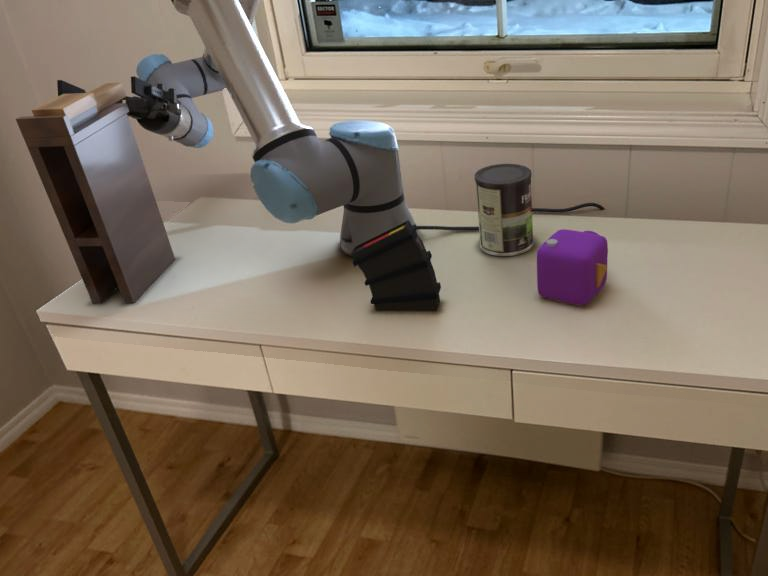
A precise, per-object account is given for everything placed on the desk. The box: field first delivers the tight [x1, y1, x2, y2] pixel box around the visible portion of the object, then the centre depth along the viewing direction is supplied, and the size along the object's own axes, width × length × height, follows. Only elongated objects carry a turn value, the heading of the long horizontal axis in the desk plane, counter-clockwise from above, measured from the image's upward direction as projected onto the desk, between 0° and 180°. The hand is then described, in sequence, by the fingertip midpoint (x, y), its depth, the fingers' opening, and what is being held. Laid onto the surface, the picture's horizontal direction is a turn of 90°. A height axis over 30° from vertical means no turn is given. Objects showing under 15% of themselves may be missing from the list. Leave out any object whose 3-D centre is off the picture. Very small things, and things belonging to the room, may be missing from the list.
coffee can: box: [473, 163, 535, 257], centre depth 139 cm, size 10×10×14 cm
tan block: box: [31, 82, 127, 130], centre depth 127 cm, size 5×20×4 cm, turn 174°
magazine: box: [349, 220, 442, 312], centre depth 123 cm, size 4×13×15 cm, turn 83°
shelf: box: [15, 102, 176, 304], centre depth 132 cm, size 8×18×33 cm, turn 174°
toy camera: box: [536, 228, 609, 306], centre depth 124 cm, size 11×14×10 cm
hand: (95, 86), depth 129 cm, fingers open, 13 cm apart
